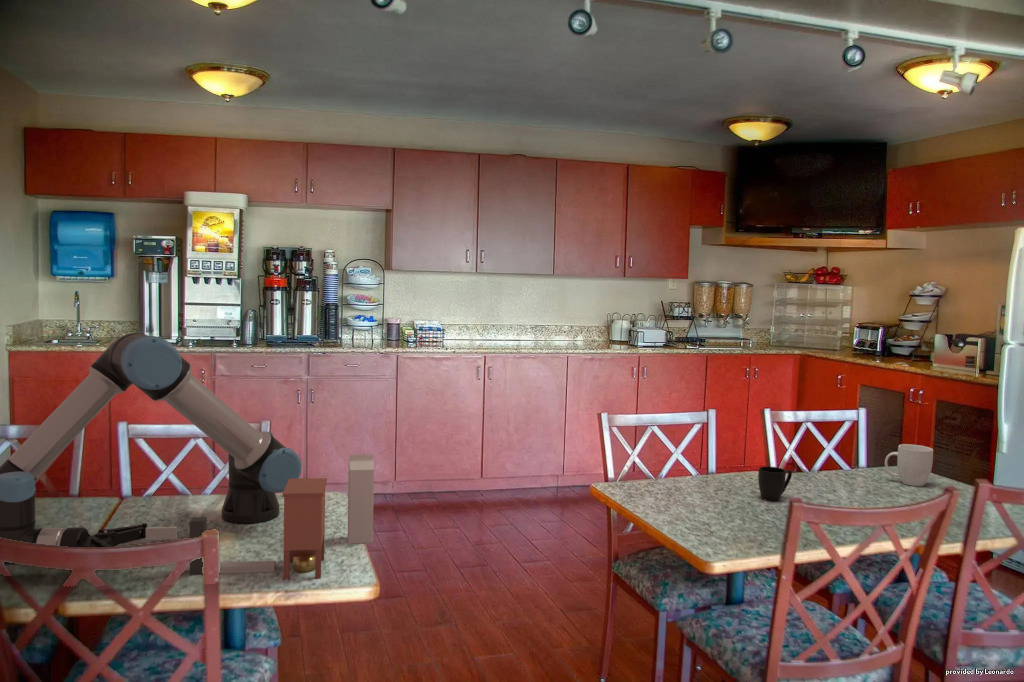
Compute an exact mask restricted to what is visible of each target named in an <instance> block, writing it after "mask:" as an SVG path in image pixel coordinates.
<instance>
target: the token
mask: <svg viewBox="0 0 1024 682" xmlns="http://www.w3.org/2000/svg"><path fill="white" fill-rule="evenodd" d="M292 567H293V568H292V570H293V572H295V573H298V574H307V573H311V572H315V554H313V553H299V554H296V555H294V556H293V561H292Z"/></svg>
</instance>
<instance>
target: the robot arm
mask: <svg viewBox="0 0 1024 682" xmlns="http://www.w3.org/2000/svg"><path fill="white" fill-rule="evenodd" d="M88 369H89V370H88V371H89V374H88V375H87V376H86V377H85V378H84V379H83V380H82V381H81V382H80V383H79V384H78V385H77V387H76V388H74V389H73V391H72V392H71V393H70V394H69V395H68V396H67V397H66V398H65V399H64V400H63V401H62V402H61V403H59V405H58V407H56V408H55V410H53V411H52V412H51V413H50V414H49V415H48V417H47V418H46V419H45V420H44V421H43V422H42V423H41V424H40V425H39V426H38V427H37V428H36V429H35V430H34V431H33V432H32V433H31V435H29V437H27V439H26V440H25V441H23V443H21V445H20V446H19V447H18V448H17V449H16V450H15V451H14V452H13V453H12V454H11V455H10V456H9V457H8V459H6V460H5V461H4V462H3V463H2V465H0V537H2V538H7V539H12V540H17V541H23V542H30V543H37V544H45V545H56V546H68V547H114V546H117V547H118V545H122V544H126V543H131V542H136V541H139V540H143V539H145V540H146V541H154V540H155V541H159V540H160V541H161V540H162V541H163V540H164V541H165V540H177V539H178V535H177V534H178V532H177V531H178V527H177V526H156V527H154V526H153V527H152V526H150V527H148V523H146V522H145V523H142V524H135V525H128V526H122V527H115V528H108V529H107V528H105V529H104V528H103V529H101V528H100V529H99V530H98V533H95V534H92V535H91V534H90V533H89V530H88V529H87V528H86V527H83V526H82V527H67V528H66V527H64V526H63V527H41V528H39V527H36V521H37V519H36V491H37V487H36V483H35V481H36V480H37V479H38V478H39V477H40V476H41V474H43V473H44V471H46V470H47V468H48V467H49V466H50V465H51V464H52V463H53V462H54V461H55V460H56V459H57V457H59V456H60V455H61V453H63V451H64V450H65V449H67V447H68V446H69V445H70V444H71V443H72V442H73V441H74V440H75V438H77V437H78V435H80V433H81V432H82V431H83V430H84V429H85V428H86V427H87V426H88V425H89V424H90V423H91V422H92V420H94V419H95V417H97V415H98V414H99V413H100V412H101V411H102V410H103V409H104V408H105V407H106V406H107V405H108V403H109V402H110V401H111V400H113V398H114V397H115V396H116V395H118V394H124V393H125V392H126V391H127V389H129V388H130V387H131V386H132V385H134V386H135V387H136V388H137V389H139V390H140V391H141V392H142V393H144V394H145V395H146V396H147V397H149V398H150V399H151V400H153V401H154V402H160V401H164V402H165V403H167V404H168V405H169V406H170V407H172V409H174V410H175V411H177V413H179V414H180V415H181V416H183V417H184V418H185V419H186V420H187V421H189V422H190V423H191V424H193V426H195V427H196V428H197V429H198V430H200V431H201V432H202V433H203V434H204V435H206V437H208V438H210V439H211V440H212V441H213V442H214V443H215V444H217V445H218V446H220V447H221V448H222V450H225V452H226V453H228V490H227V492H226V495H225V499H224V501H223V505H222V508H221V519H222V520H224V521H225V522H228V523H234V524H255V523H263V522H267V521H271V520H274V519H275V518H277V517H279V515H280V503H279V501H278V497H277V495H276V494H278V493H279V494H280V493H283V491H284V489H285V487H286V484H287V482H288V480H289V479H300V476H301V473H302V460H301V457H300V456H299V455H298V454H297V452H295V451H294V449H292V448H289V447H286V446H285V445H284V444H283V443H281V442H280V440H278V439H277V438H276V437H275V436H274V434H273V432H271V431H265V430H264V431H258V430H257V429H255V427H254V426H252V425H251V423H248V422H247V421H246V420H245V419H244V418H243V417H242V416H241V415H240V414H239V413H237V412H236V411H235V410H233V408H231V407H230V406H229V405H228V404H227V403H226V402H224V401H223V400H222V399H221V398H220V397H219V396H217V395H216V394H215V393H214V392H213V391H212V390H211V389H209V388H208V387H207V386H206V385H205V384H203V383H202V382H201V381H200V380H199V379H198V378H196V376H194V375H193V374H192V366H191V364H190V362H188V361H187V359H185V358H184V357H183V356H181V354H180V352H179V351H178V349H177V348H176V347H175V346H174V344H173V343H171V342H170V341H168V340H166V339H164V338H162V337H159V336H155V335H147V334H144V333H141V332H140V333H139V332H132V333H127V334H125V335H122V336H121V337H118V338H117V339H116V340H115V341H113V342H112V343H111V344H110V345H109V346H108V347H107V348H106V349H105V350H104V351H103V353H101V355H100V356H99V357H98V358H97V359H96V360H95V361H94V362H93V363H92V364H91V365H90V366H89V367H88ZM18 565H19V566H20V564H15V563H9V562H4V565H3V566H7V567H8V566H9V567H10V566H18Z"/></svg>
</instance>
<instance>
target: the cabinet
mask: <svg viewBox="0 0 1024 682" xmlns="http://www.w3.org/2000/svg"><path fill="white" fill-rule="evenodd" d="M327 479H328V478H327V477H323V478H318V477H315V478H314V477H313V478H306V477H305V478H298V479H289V480H288V482H287V484H286V487H285V489H284V491H283V492H282V496H281V497H282V498H283V566H282V567H283V570H282V571H283V575H282V576H283V577H282V579H283V580H289V579H290V573H291V572H290V570H291V569H290V565H291V563H290V562H293V556H294V555H296V554H299V553H313V554H315V570H314V578H315V579H321V578H322V561H325V542H326V541H325V535H326V534H325V532H326V529H325V527H326V524H325V523H326V521H325V520H326V486H327V482H328V481H327Z"/></svg>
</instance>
